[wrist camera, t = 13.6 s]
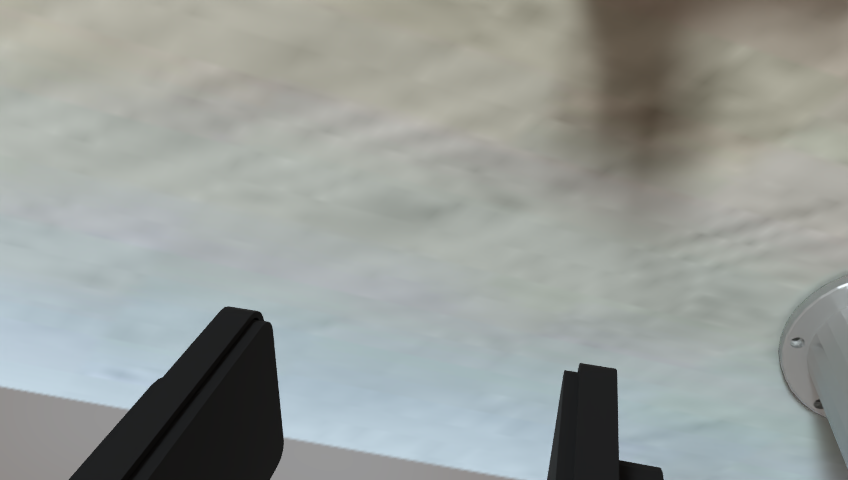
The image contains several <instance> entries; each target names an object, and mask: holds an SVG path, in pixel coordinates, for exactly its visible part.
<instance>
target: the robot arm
mask: <svg viewBox="0 0 848 480" xmlns="http://www.w3.org/2000/svg"><path fill="white" fill-rule="evenodd" d="M779 357H780V365H781V368H782V371H783V374H784V377H785V380H786V381H787V383H788V385H789V387H790V389H791V391H792V392H793V393H794V394H795V395H796V397H797V398H798V399H799V400H800V401H801V402H802V403H803V404H804V405H806V406H807V407H808V408H809V409H811V410H812V411H814V412H816V413H818V414H820V415H822V416H824V417H826V418H828V421H829V424H830V426H831V429H832V431H833V434H834V436H835V439H836V441H837V444H838V446H839V449H840V451H841V454H842V456H843V459H844V461H845V464H846V466H847V469H848V275H846V276H843V277H841V278H839V279H837V280H835V281H833V282H830V283H828V284H826V285H824V286H823V287H821V288H820V289H819V290H817V291H816V292H814V293H813V294H811V295H810V296H809V297H807V298H806V299H805V300H804V301H803V302H802V303H801V304H800V305H799V306H798V307H797V308H796V309H795V311H794V312H793V314H792V315H791V317H790V318H789V320H788V321H787V323H786V325H785V328H784V330H783V333H782V335H781V339H780V346H779ZM283 445H284V439H283V429H282V419H281V409H280V399H279V388H278V378H277V368H276V358H275V348H274V338H273V329H272V325H271V323H270V322H266V321H264V319H263V316H262V314H261V313H260V312H258V311H253V310H247V309H241V308H235V307H224V308H223V309H222V310H221V311H220V312H219V313H218V314H217V315H216V317H215V318H214V319H213V320H212V321H211V322H210V323H209V325H208V326H207V327H206V328H205V329H204V330H203V332H202V333H201V334H200V335H199V336H198V337H197V338H196V340H195V341H194V342H193V343H192V344H191V345H190V346H189V348H188V349H187V350H186V351H185V352H184V353H183V355H182V356H181V357H180V358H179V359H178V360H177V361H176V363H175V364H174V365H173V366H172V367H171V368H170V370H169V371H168V372H167V373H166V374H165V375H164V376H163V377H162V378H160V379H158V380H157V381H156V382H155V383H153V384H152V385H151V386H150V387H149V389H148V390H147V391H146V392H145V393H144V394H143V395H142V397H141V398H140V399H139V400H138V401H137V402H136V403H135V405H134V406H133V407H132V408H131V409H130V410H129V411H128V413H127V414H126V415H125V416H124V417H123V418H122V419H121V421H120V422H119V423H118V424H117V425H116V426H115V427H114V429H113V430H112V431H111V432H110V433H109V434H108V435H107V436H106V438H105V439H104V440H103V441H102V442H101V443H100V444H99V446H98V447H97V448H96V449H95V450H94V451H93V452H92V454H91V455H90V456H89V457H88V458H87V459H86V461H85V462H84V463H83V464H82V465H81V466H80V467H79V469H78V470H77V471H76V472H75V473H74V474H73V475H72V476H71V478H70V479H69V480H270V478H271V476H272V475H273V473H274V471H275V469H276V468H277V465H278V463H279V461H280V459H281V456H282V452H283ZM547 480H664V479H663V473H662V470H661V468H658V467H653V466H648V465H642V464H637V463H631V462H626V461H621V460H619V446H618V394H617V370H616V369H614V368H607V367H601V366H595V365H589V364H583V363H580V364H579V368H578V372H572V371H566V370H564V375H563V381H562V387H561V394H560V400H559V407H558V413H557V420H556V426H555V433H554V439H553V445H552V452H551V458H550V465H549V471H548V478H547Z"/></svg>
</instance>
